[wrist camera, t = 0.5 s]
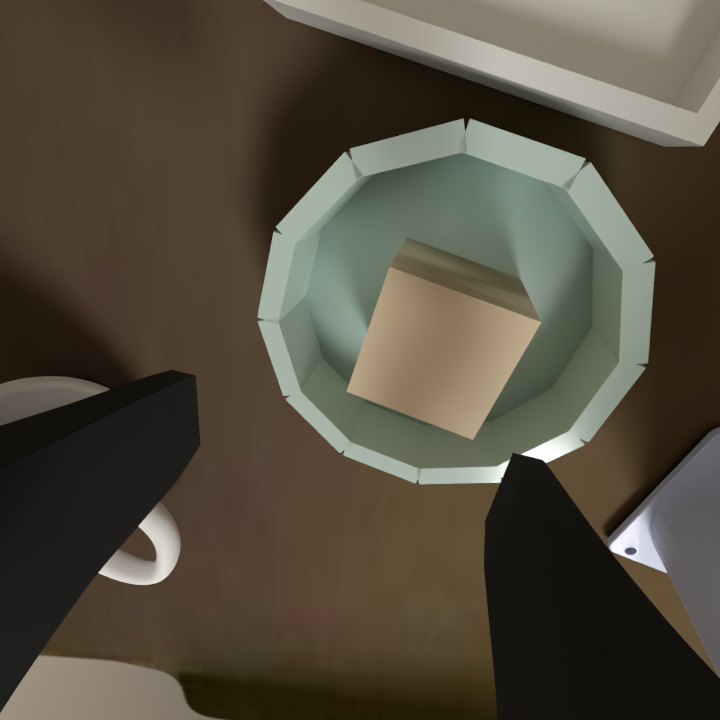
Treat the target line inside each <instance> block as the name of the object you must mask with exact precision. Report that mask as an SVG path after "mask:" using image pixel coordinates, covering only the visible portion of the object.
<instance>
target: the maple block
mask: <svg viewBox="0 0 720 720" xmlns="http://www.w3.org/2000/svg"><path fill="white" fill-rule="evenodd" d="M540 324H541V320H540V318H539V316H538V314H537V312H536V310H535V308H534V306H533V304H532V302H531V300H530V298H529V295H528V293H527V291H526V289H525V287H524V285H523V283H522V281H521V279H520V278H518V277H515V276H512V275H510V274H507V273H504V272H501V271H499V270H496V269H493V268H490V267H487V266H485V265H482V264H479V263H476V262H474V261H471V260H468V259H465V258H463V257H460V256H457V255H454V254H452V253H449V252H446V251H443V250H440V249H438V248H435V247H432V246H429V245H427V244H424V243H421V242H418V241H416V240H413V239H410V238H406V240H405V242H404V243H403V245H402V247H401V248H400V250H399V252H398V253H397V255H396V257H395V258H394V260H393V262H392V264H391V265H390V267H389V270H388V273H387V276H386V279H385V282H384V284H383V287H382V290H381V293H380V296H379V299H378V302H377V305H376V308H375V310H374V313H373V316H372V319H371V322H370V325H369V328H368V331H367V334H366V336H365V339H364V342H363V345H362V348H361V351H360V354H359V357H358V360H357V363H356V365H355V368H354V371H353V374H352V377H351V380H350V383H349V386H348V389H347V391H346V392H349V393H351V394H354V395H357V396H359V397H362V398H364V399H367V400H370V401H372V402H375V403H377V404H380V405H383V406H385V407H388V408H391V409H393V410H396V411H398V412H401V413H404V414H406V415H409V416H411V417H414V418H417V419H419V420H422V421H425V422H427V423H430V424H432V425H435V426H438V427H440V428H443V429H446V430H448V431H451V432H453V433H456V434H459V435H461V436H464V437H466V438H469V439H472V440H473V439H474V437H475V436H476V434H477V432H478V431H479V429H480V427H481V425H482V424H483V422H484V420H485V418H486V417H487V415H488V413H489V412H490V410H491V408H492V406H493V405H494V403H495V401H496V400H497V398H498V396H499V394H500V393H501V391H502V389H503V388H504V386H505V384H506V382H507V381H508V379H509V377H510V375H511V374H512V372H513V370H514V369H515V367H516V365H517V363H518V362H519V360H520V358H521V357H522V355H523V353H524V351H525V350H526V348H527V346H528V345H529V343H530V341H531V339H532V338H533V336H534V334H535V333H536V331H537V329H538V327H539V326H540Z"/></svg>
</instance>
